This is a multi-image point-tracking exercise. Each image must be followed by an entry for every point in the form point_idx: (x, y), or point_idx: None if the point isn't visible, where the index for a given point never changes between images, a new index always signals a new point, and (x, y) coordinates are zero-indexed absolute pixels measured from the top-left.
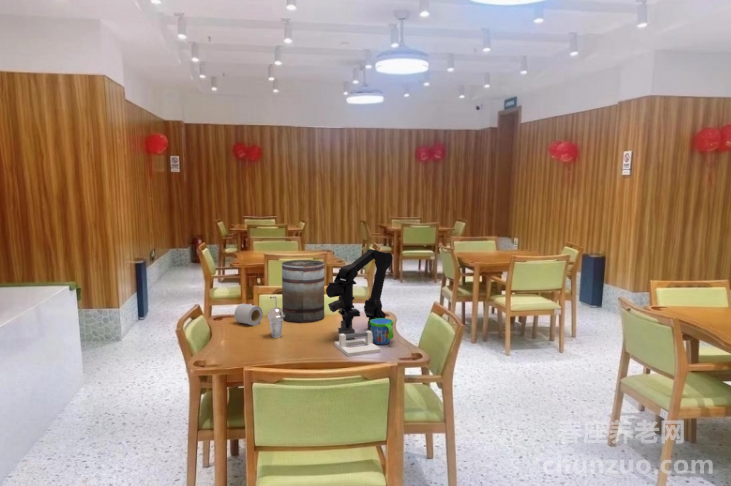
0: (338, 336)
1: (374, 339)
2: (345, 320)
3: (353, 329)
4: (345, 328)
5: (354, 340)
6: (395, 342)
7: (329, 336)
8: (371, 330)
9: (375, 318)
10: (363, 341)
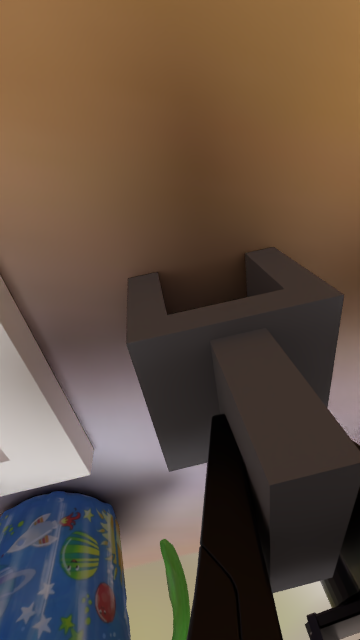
0: (270, 252)
1: (9, 530)
2: (225, 582)
3: (195, 460)
4: (220, 397)
5: (11, 400)
6: None
7: (354, 135)
8: (162, 551)
9: (346, 618)
10: (2, 457)
